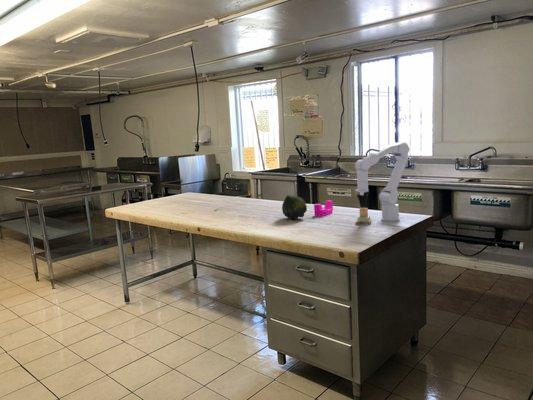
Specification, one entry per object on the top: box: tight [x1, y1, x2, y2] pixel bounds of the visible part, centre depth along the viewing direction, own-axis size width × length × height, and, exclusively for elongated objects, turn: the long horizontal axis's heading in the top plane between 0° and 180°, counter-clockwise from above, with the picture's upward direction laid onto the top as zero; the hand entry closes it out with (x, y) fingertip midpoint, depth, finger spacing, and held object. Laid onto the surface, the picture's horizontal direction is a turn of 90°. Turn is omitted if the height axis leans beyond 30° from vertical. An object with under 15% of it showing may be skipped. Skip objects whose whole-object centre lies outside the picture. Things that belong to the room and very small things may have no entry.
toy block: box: [313, 200, 334, 218], centre depth 263 cm, size 15×6×8 cm, turn 139°
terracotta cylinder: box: [358, 207, 369, 217], centre depth 233 cm, size 4×4×4 cm
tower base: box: [355, 218, 373, 226], centre depth 234 cm, size 8×8×2 cm
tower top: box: [357, 214, 371, 222], centre depth 234 cm, size 6×6×2 cm
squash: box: [281, 195, 308, 221], centre depth 254 cm, size 14×15×15 cm
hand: (363, 205), depth 233 cm, fingers open, 7 cm apart
